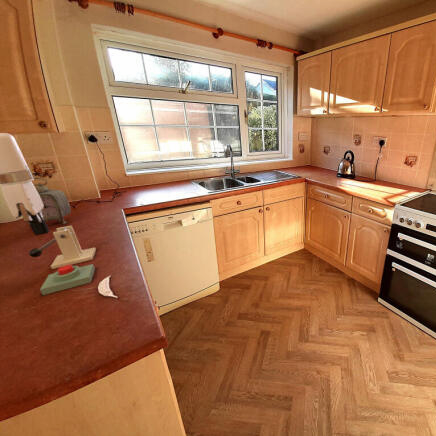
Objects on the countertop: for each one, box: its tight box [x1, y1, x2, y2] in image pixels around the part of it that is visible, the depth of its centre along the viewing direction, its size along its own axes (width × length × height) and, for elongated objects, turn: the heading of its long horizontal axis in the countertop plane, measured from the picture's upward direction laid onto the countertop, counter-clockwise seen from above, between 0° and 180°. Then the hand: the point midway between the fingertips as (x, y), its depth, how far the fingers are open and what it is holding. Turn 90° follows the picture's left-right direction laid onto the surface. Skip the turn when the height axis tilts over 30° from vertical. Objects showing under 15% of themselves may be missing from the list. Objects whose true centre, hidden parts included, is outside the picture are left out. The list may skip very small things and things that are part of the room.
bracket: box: [50, 225, 97, 270], centre depth 93 cm, size 12×9×13 cm
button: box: [57, 264, 74, 275], centre depth 80 cm, size 4×4×2 cm
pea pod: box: [97, 275, 119, 299], centre depth 76 cm, size 15×4×2 cm, turn 39°
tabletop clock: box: [33, 177, 72, 225], centre depth 125 cm, size 14×9×25 cm, turn 102°
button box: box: [39, 263, 96, 296], centre depth 81 cm, size 12×9×4 cm
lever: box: [28, 228, 72, 258], centre depth 90 cm, size 14×3×3 cm
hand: (42, 233), depth 78 cm, fingers closed
